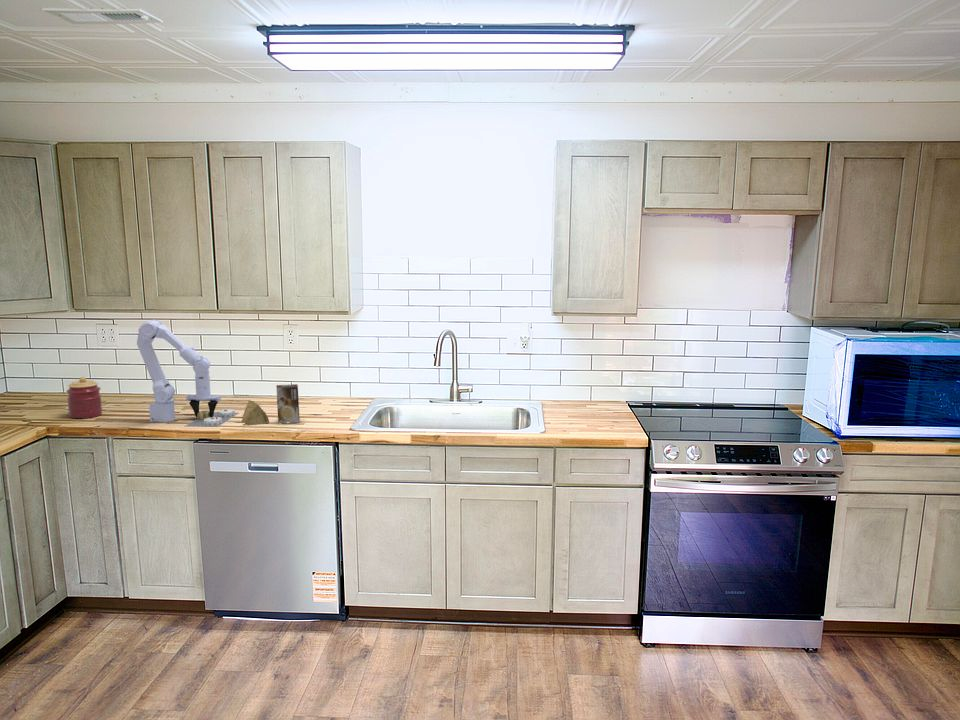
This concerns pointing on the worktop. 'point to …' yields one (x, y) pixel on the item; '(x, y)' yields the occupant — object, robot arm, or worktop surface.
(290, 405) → the coffee box
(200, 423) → the gear board
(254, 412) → the rock
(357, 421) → the worktop surface
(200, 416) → the brass gear
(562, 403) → the worktop surface
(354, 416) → the worktop surface
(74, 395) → the canister
